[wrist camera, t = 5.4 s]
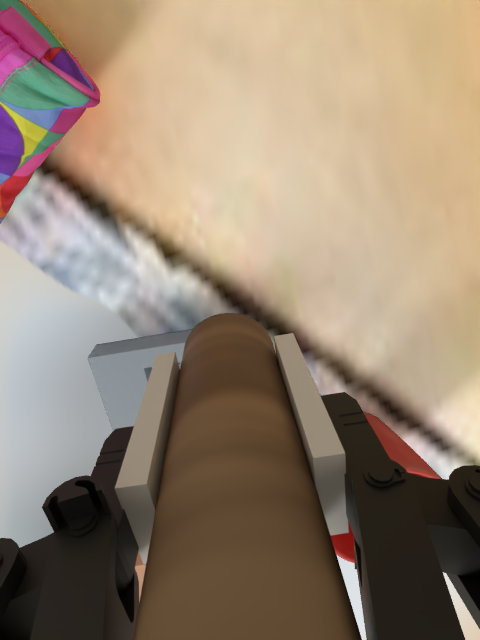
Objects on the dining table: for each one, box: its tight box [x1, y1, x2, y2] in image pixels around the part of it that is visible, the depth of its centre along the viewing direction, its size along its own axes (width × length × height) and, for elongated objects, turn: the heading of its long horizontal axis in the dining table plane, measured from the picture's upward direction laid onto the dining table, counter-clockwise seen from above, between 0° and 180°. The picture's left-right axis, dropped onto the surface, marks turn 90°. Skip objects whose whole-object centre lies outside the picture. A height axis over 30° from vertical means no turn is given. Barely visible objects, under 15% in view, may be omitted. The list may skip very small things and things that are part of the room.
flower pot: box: [330, 412, 442, 563], centre depth 35 cm, size 11×11×10 cm
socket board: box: [88, 329, 193, 602], centre depth 30 cm, size 16×14×13 cm
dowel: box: [133, 313, 362, 640], centre depth 11 cm, size 4×4×12 cm
